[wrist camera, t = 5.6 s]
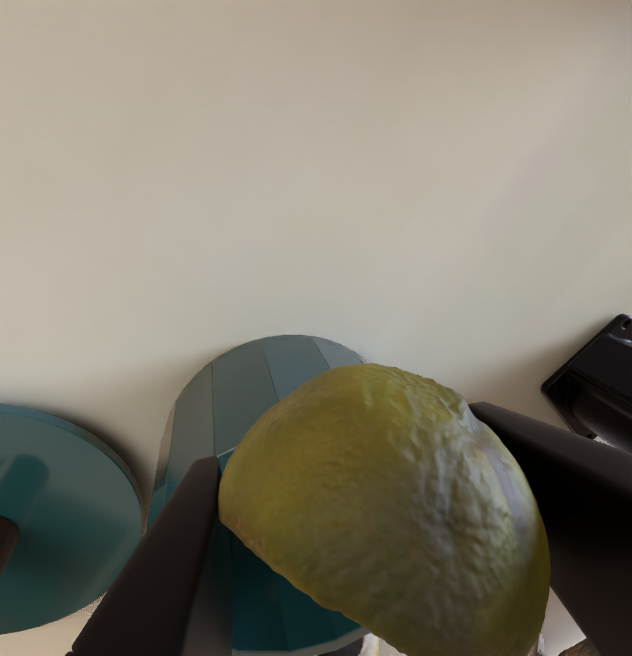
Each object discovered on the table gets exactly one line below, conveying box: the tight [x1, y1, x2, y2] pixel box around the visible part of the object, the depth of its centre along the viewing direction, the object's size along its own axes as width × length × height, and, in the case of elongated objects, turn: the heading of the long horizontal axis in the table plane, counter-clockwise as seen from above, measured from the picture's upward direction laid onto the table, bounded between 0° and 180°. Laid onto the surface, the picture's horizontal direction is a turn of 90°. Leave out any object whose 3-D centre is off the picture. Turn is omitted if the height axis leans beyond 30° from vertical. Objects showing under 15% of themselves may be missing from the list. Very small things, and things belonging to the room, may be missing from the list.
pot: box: [146, 335, 371, 656], centre depth 18 cm, size 12×12×7 cm
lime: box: [217, 363, 551, 656], centre depth 7 cm, size 4×5×5 cm
